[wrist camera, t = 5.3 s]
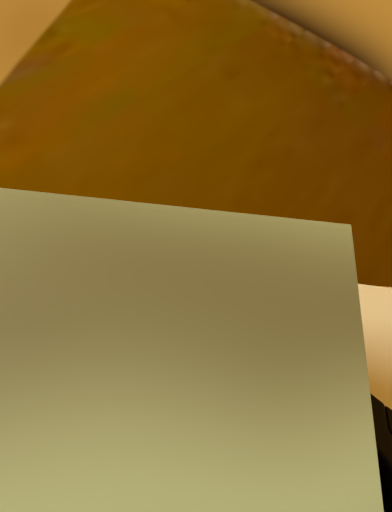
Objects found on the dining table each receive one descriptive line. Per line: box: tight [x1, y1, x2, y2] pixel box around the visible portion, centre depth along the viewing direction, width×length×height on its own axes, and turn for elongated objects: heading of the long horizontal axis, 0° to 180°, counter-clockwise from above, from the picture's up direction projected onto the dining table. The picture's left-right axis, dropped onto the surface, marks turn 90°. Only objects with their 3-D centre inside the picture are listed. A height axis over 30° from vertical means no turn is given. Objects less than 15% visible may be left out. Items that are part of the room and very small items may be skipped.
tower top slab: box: [358, 284, 392, 410], centre depth 20 cm, size 9×9×2 cm
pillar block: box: [0, 188, 384, 512], centre depth 10 cm, size 6×6×11 cm
